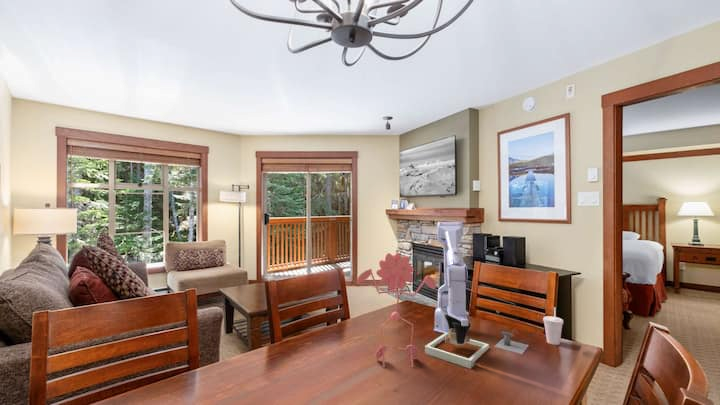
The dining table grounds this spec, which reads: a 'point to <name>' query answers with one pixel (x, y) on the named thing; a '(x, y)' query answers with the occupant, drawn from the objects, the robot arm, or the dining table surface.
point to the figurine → (395, 276)
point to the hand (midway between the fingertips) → (457, 339)
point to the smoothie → (553, 328)
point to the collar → (452, 337)
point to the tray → (453, 357)
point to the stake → (511, 344)
